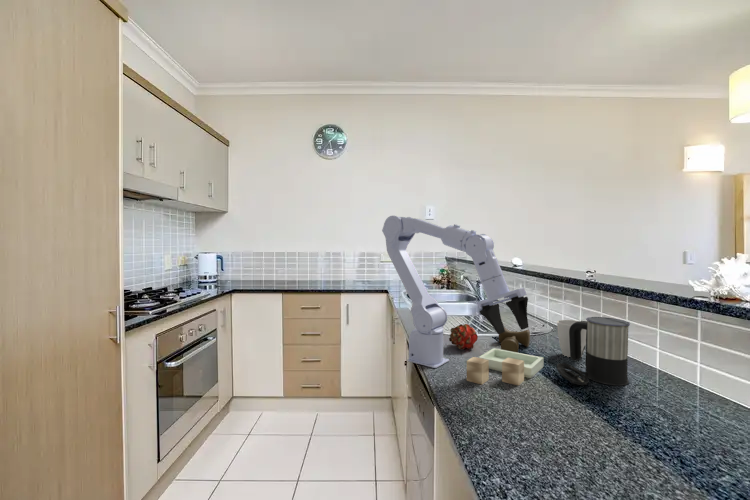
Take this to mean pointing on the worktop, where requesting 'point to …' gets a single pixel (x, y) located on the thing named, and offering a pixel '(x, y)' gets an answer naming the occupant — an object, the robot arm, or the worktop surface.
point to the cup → (564, 336)
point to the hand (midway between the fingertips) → (512, 330)
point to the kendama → (513, 339)
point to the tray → (530, 362)
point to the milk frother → (599, 351)
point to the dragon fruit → (463, 336)
